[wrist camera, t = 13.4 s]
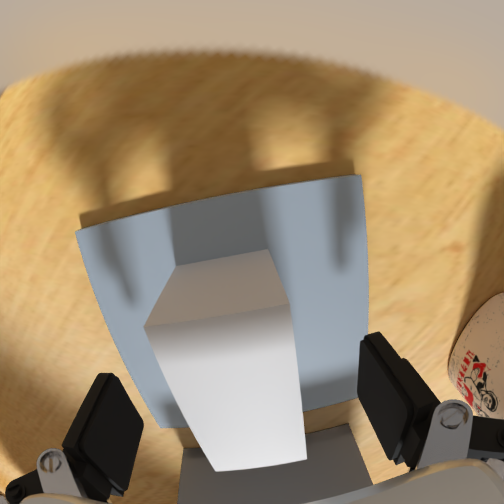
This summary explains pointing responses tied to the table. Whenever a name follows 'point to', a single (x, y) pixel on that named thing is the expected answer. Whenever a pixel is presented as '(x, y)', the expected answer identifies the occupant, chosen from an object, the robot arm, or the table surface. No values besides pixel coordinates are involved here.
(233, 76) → the table surface
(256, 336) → the lid
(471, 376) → the teacup with lid
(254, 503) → the storage box
